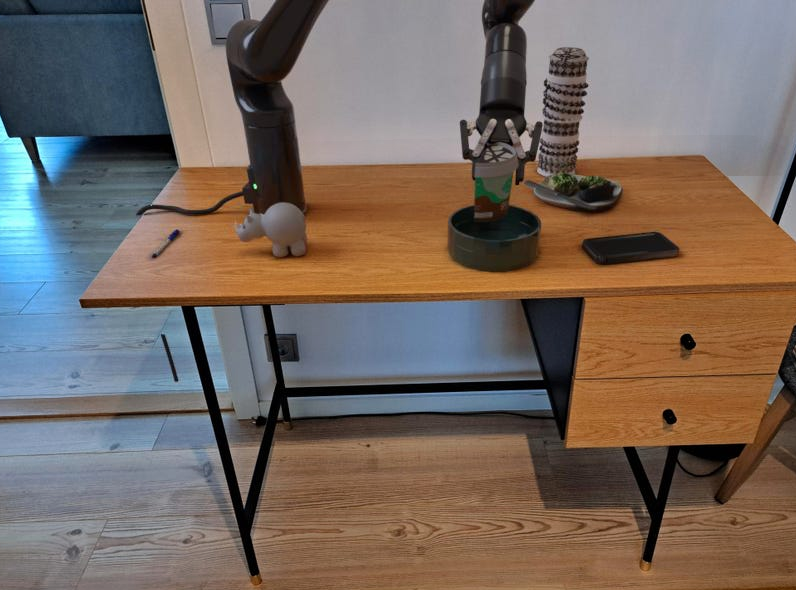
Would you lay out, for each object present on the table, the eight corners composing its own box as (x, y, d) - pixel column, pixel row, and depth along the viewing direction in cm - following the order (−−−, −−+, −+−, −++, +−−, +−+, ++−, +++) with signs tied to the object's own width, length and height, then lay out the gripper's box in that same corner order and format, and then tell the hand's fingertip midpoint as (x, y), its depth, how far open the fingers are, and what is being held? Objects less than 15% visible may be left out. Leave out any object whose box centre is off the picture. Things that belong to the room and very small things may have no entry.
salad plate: (509, 203, 128) (511, 180, 126) (538, 175, 141) (540, 154, 139) (605, 220, 121) (609, 197, 119) (626, 189, 134) (630, 167, 132)
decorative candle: (544, 180, 139) (557, 55, 124) (529, 166, 146) (540, 46, 131) (583, 177, 140) (600, 52, 126) (566, 163, 148) (581, 44, 133)
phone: (580, 239, 112) (658, 231, 114) (579, 245, 113) (657, 236, 115) (599, 259, 106) (682, 250, 108) (598, 265, 106) (680, 256, 109)
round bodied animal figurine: (243, 243, 114) (234, 197, 109) (311, 241, 114) (306, 195, 109) (235, 261, 108) (226, 214, 103) (307, 259, 108) (301, 212, 103)
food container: (511, 228, 102) (515, 166, 96) (472, 225, 103) (475, 164, 97) (518, 199, 111) (522, 141, 106) (483, 196, 112) (485, 138, 107)
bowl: (443, 269, 105) (443, 238, 102) (452, 230, 118) (452, 201, 115) (538, 274, 104) (542, 243, 101) (537, 234, 117) (540, 205, 113)
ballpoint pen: (175, 233, 118) (174, 227, 117) (180, 233, 118) (179, 228, 117) (151, 258, 109) (150, 253, 109) (156, 259, 109) (155, 253, 108)
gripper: (544, 101, 110) (539, 194, 108) (461, 99, 112) (454, 190, 109) (548, 75, 103) (543, 174, 101) (459, 74, 104) (452, 171, 102)
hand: (497, 182), depth 105 cm, fingers closed on food container, 6 cm apart
